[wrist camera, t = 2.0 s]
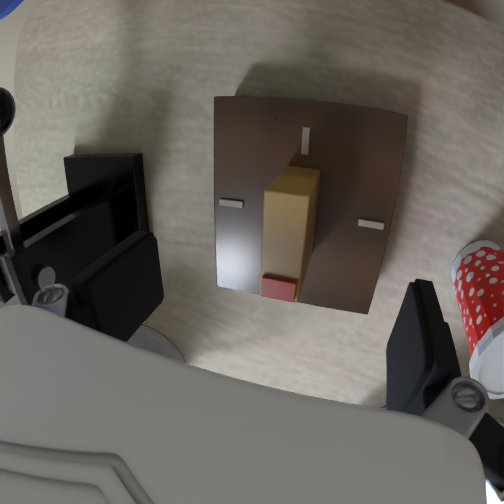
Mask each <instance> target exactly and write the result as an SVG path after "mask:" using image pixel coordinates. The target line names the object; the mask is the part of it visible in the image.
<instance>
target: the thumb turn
mask: <svg viewBox="0 0 504 504" xmlns="http://www.w3.org/2000/svg"><path fill="white" fill-rule="evenodd" d="M320 176H321V170H318V169H310V168H302V167H294V166H286V167H285V168H284V170H283V171H282V172H281V173H280V174H279V175H278V176H277V177H276V178H275V179H274V180H273V181H272V183H271V184H270V185H269V186H268V187H267V188H266V189H265V191H264V205H263V228H262V249H261V270H260V290H259V295H260V296H263V297H268V298H273V299H278V300H284V301H289V302H295V303H297V302H298V300H299V296H300V293H301V290H302V286H303V283H304V279H305V276H306V272H307V269H308V265H309V262H310V258H311V254H312V246H313V238H314V230H315V222H316V213H317V205H318V195H319V186H320Z"/></svg>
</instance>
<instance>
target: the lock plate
mask: <svg viewBox="0 0 504 504" xmlns="http://www.w3.org/2000/svg"><path fill="white" fill-rule="evenodd" d="M407 122H408V115H406V114H402V113H398V112H393V111H387V110H382V109H376V108H370V107H364V106H357V105H350V104H343V103H335V102H327V101H317V100H307V99H295V98H280V97H259V96H215V97H214V211H215V249H216V278H217V286H218V287H223V288H228V289H233V290H238V291H242V292H247V293H252V294H257V295H259V290H260V270H261V249H262V228H263V205H264V191H265V189H266V188H267V187H268V186H269V185H270V184H271V183H272V181H273V180H274V179H275V178H276V177H277V176H278V175H279V174H280V173H281V172H282V171H283V170H284V168H285V167H286V166H294V167H302V168H310V169H318V170H321V176H320V186H319V195H318V205H317V213H316V222H315V230H314V238H313V246H312V254H311V258H310V262H309V265H308V269H307V272H306V276H305V279H304V283H303V286H302V290H301V293H300V296H299V300H298V302H299V303H304V304H310V305H315V306H321V307H326V308H332V309H338V310H344V311H350V312H356V313H362V314H368V311H369V308H370V305H371V301H372V298H373V294H374V291H375V287H376V283H377V280H378V276H379V272H380V268H381V265H382V261H383V257H384V252H385V248H386V244H387V240H388V235H389V231H390V226H391V222H392V217H393V212H394V207H395V202H396V196H397V191H398V185H399V179H400V173H401V167H402V161H403V154H404V146H405V139H406V130H407Z"/></svg>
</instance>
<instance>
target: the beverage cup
mask: <svg viewBox="0 0 504 504" xmlns="http://www.w3.org/2000/svg"><path fill="white" fill-rule="evenodd" d="M451 279H452V284H453V287H454V291H455V294H456V298H457V301H458V305H459V308H460V312H461V316H462V320H463V324H464V328H465V332H466V336H467V341H468V345H469V350H470V355H471V359H470V362H469V368H470V377H471V378H473V379H475V380H476V381H478V382H479V383H481V384H482V385H483V386H484V388H485V389H486V391H487V393H488V396H489V399H501V398H504V251H503V250H502V249H501V248H500V247H499V246H498V245H497V244H495V243H493V242H491V241H489V240H479V241H476V242H474V243H471V244H469V245H467V246H466V247H465V248H464V249H463V250H462V251H461V252H460V253H459V254H458V256H457V257H456V259H455V261H454V263H453V265H452V271H451Z"/></svg>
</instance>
